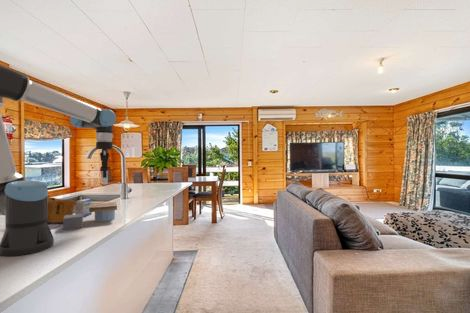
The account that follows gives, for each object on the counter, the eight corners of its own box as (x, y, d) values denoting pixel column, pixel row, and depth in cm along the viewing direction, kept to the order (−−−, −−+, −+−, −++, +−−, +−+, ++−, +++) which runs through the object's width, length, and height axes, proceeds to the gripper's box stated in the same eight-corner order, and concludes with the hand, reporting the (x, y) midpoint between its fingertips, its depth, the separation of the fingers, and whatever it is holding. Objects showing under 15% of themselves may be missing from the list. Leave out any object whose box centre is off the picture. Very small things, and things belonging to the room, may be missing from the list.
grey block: (81, 227, 117) (81, 216, 117) (63, 230, 113) (63, 218, 113) (82, 224, 123) (82, 213, 123) (65, 226, 120) (65, 215, 120)
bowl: (114, 220, 130) (114, 209, 130) (94, 222, 126) (94, 211, 126) (114, 216, 138) (114, 206, 138) (94, 218, 134) (94, 207, 134)
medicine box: (83, 217, 136) (83, 201, 136) (74, 217, 136) (74, 201, 136) (91, 214, 144) (91, 198, 144) (83, 214, 144) (83, 198, 144)
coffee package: (41, 197, 133) (82, 198, 132) (37, 221, 131) (79, 223, 130) (25, 196, 124) (69, 197, 123) (20, 222, 121) (65, 224, 120)
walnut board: (116, 209, 129) (116, 205, 129) (89, 212, 124) (89, 208, 124) (115, 205, 140) (115, 201, 140) (90, 207, 134) (90, 203, 134)
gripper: (113, 140, 123) (113, 185, 123) (111, 142, 145) (111, 180, 145) (95, 140, 119) (95, 185, 119) (96, 142, 141) (96, 181, 141)
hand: (104, 183), depth 132 cm, fingers open, 13 cm apart
